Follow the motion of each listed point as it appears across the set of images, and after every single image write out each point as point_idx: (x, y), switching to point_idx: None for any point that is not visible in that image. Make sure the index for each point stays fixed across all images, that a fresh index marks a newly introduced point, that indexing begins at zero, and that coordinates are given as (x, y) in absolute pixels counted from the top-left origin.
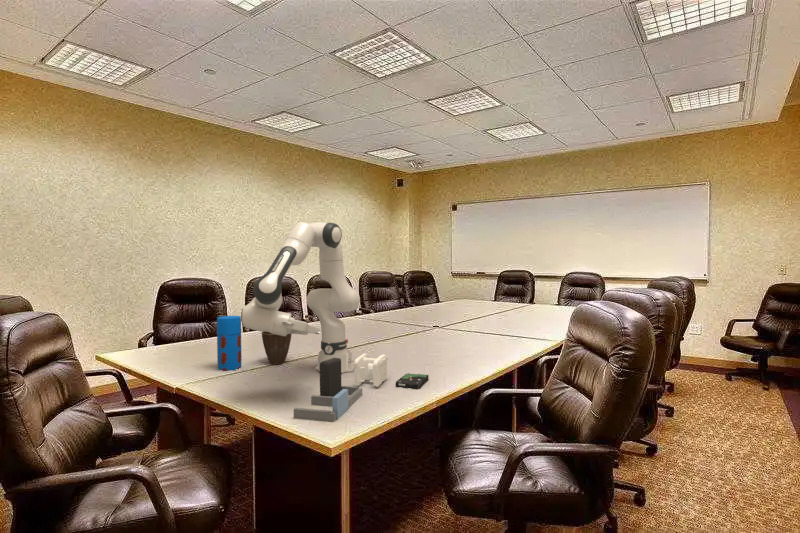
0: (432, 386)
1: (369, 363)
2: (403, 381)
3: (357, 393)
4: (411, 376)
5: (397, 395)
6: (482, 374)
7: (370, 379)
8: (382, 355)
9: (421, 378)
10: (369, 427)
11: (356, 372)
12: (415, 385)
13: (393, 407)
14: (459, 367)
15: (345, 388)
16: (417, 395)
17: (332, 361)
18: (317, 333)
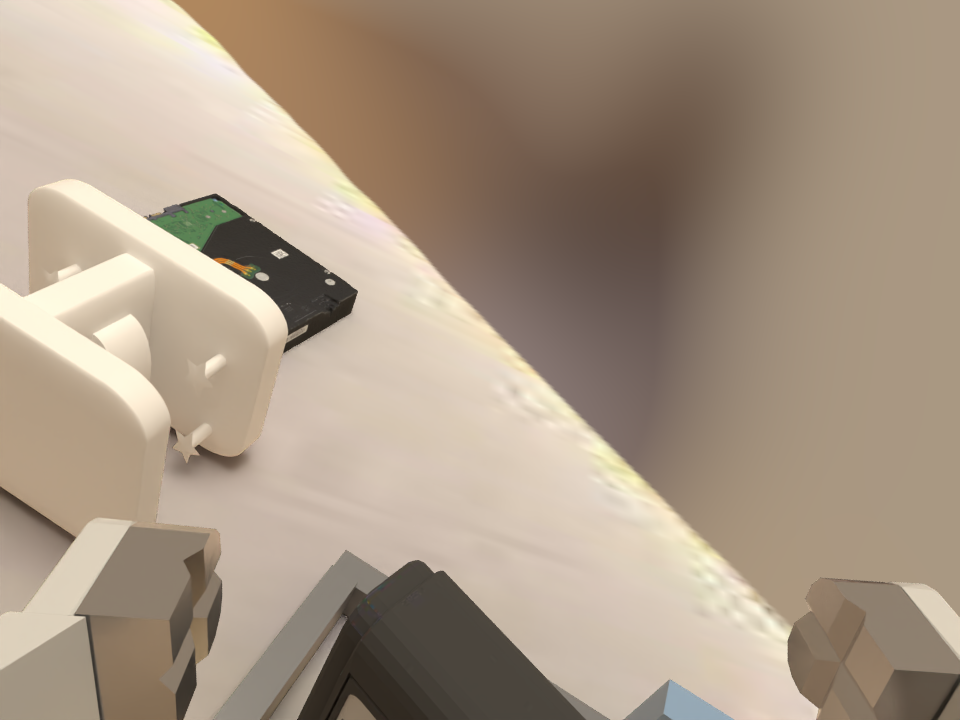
0: (328, 257)
1: (100, 330)
2: None
3: None
4: (196, 245)
5: (413, 417)
6: (248, 92)
7: (190, 436)
8: (107, 206)
9: (260, 237)
10: None
11: (154, 483)
12: (346, 303)
13: (587, 502)
14: (88, 62)
15: (297, 669)
16: (438, 354)
17: (543, 676)
18: (195, 651)
